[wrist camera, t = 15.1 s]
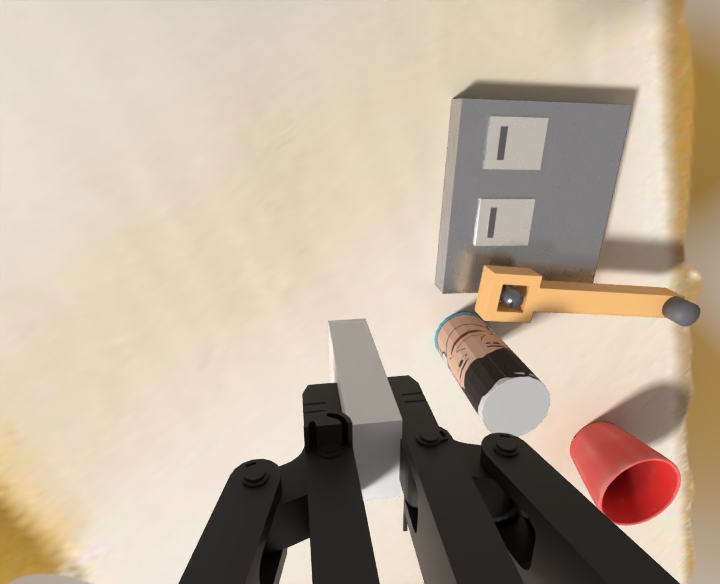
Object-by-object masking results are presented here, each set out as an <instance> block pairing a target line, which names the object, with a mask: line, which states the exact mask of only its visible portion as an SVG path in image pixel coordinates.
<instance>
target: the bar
mask: <svg viewBox="0 0 720 584" xmlns="http://www.w3.org/2000/svg"><path fill="white" fill-rule="evenodd" d="M503 284H505V285H515V289H516V290H517V291H518V292H520V293H521V294H522V295H523V297H524V301H523V304H522V305H521V306H520V307H518V308H516V309H512V308H510V307H509V306H507V305H506V304H505V303H504V302H499V299H500V294H501V290H502V286H503ZM684 298H685V297H684V296H682V295H680V294H678V293H676V292H674V291H671V290H669V289H667V288H661V287H644V286H628V285H612V284H595V283H579V282H562V281H546V280H542V276H541V275H539V274H538V273H536V272H535V271H533V270H532V269H530V268H522V267H507V266H492V265H484V268H483V272H482V277H481V282H480V286H479V291H478V296H477V301H476V305H475V311H476V312H477V313H478V314H479V316H480V317H481V318H482V319H483V320H484V321H501V322H524V323H531V319H532V315H533V312H554V313H575V314H596V315H617V316H638V317H659V318H668V319H670V320H672V321H674V322H675V323H677V324H679V325H681V326H689V325H692V324H693V323H694V322H696V320H697V319H698V317H699V315H700V308H699V306H698V305H696V304H694V303H692V302H690V301H687V300H685V299H684Z"/></svg>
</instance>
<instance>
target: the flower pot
mask: <svg viewBox="0 0 720 584" xmlns="http://www.w3.org/2000/svg"><path fill="white" fill-rule="evenodd" d="M570 455H571V458H572V460H573V462H574V464H575V466H576V468H577V470H578V472H579V474H580V476H581V478H582V480H583V482H584V484H585V486H586V488H587V490H588V491H589V493H590V495H591V497H592V499H593V501H594V503H595V505H596V507H597V508H598V509H599V510H600V511H601V512H602V513H603V514H604V515H606V516H607V517H608V518H609V519H610V520H611V521H612V522H613V523H614V524H616V525H624V526H627V525H635V524H640V523H643V522H646V521H648V520H650V519H652V518H654V517H656V516H657V515H659V514H660V513H661V512H662V511H664V510H665V509H666V508H667V507H668V506H669V505H670V504H671V502H672V501H673V500H674V498H675V496H676V495H677V493H678V490H679V487H680V482H681V477H680V472H679V470H678V468H677V466H676V465H675V464H674V463H673V462H672V461H670V460H669V459H667V458H666V457H664V456H663V455H662V454H660V453H658V452H657V451H655V450H654V449H652V448H651V447H649V446H648V445H646V444H644V443H643V442H641V441H640V440H638V439H637V438H635V437H633V436H632V435H630V434H628V433H627V432H625V431H623V430H621V429H620V428H618V427H616V426H615V425H613V424H611V423H608V422H596V423H592V424H590V425H588V426H586V427H584V428H583V429H581V430H580V431H579V432H578V433H577V435H576V437H575V438H574V439H573V440H572V442H571V445H570Z"/></svg>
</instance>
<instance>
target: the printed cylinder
mask: <svg viewBox="0 0 720 584" xmlns="http://www.w3.org/2000/svg"><path fill="white" fill-rule="evenodd" d="M435 345H436V348H437V350H438V352H439V353H440V355H441V357H442V358H443V360H444V361H445V363H446V364H447V366H448V368H449V369H450V371H451V372H452V374H453V376H454V377H455V379H456V380H457V382H458V383H459V385H460V387H461V388H462V390H463V391H464V393H465V395H466V396H467V398H468V399H469V401H470V402H471V404H472V406H473V407H474V409H475V410H476V412H477V414H478V415H479V417H480V418H481V420H482V421H483V423H484V425H485V426H486V428H487V429H488V430H489V431H490V432H492V433H499V432H500V433H508V434H511V435H514V436H521V435H524V434H526V433H528V432H530V431H531V430H533V429H535V428H536V427H537V426H538V425H539V424H540V423H541V422H542V421H543V419H544V418H545V416H546V415H547V413H548V409H549V406H550V394H549V392H548V390H547V388H546V386H545V385H544V384H543V383H542V382H541V381H540V380H539V379H538V378H537V377H536V376H535V375H534V373H533V372H532V371H531V370H530V369H529V368H528V367H527V366H526V365H525V364H524V363H523V362H522V361H521V360H520V359H519V358H518V357H517V355H516V354H515V353H514V352H513V351H512V350H511V349H510V348H509V347H508V346H507V345H506V344H505V343H504V342H503V341H502V340H501V338H500V337H499V336H498V335H497V334H496V333H495V332H494V331H493V330H492V329H491V328H490V327H489V326H488V325H487V324H486V323H485V322H484V320H483V319H481V318H480V317H479V316H478V315H476V314H473V313H471V312H460V313H456V314H453V315H451V316H449V317H448V318H446V319H445V320H444V321H443V322H442V323H441V324H440V326H439V328H438V329H437V331H436V335H435Z"/></svg>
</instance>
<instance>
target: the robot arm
mask: <svg viewBox="0 0 720 584" xmlns="http://www.w3.org/2000/svg"><path fill="white" fill-rule="evenodd" d="M328 332H329V359H330V382H331V383H326V384H314V385H308V386H307V388H306V389H305V391H304V392H303V394H302V396H303V416H304V441H305V446H304V449H303V451H302V453H301V454H300V455H299V456H298V457H297V458H296V459H294V460H293V461H291V462H289V463H287V464H284V465H282V466H279V467H278V465H277V464H275V463H274V462H272V461H270V460H265V459H255V460H250V461H247V462H245V463H243V464H241V465H240V466H238V467H237V468H235V470H234V471H233V472H232V474H231V475H230V477H229V479H228V481H227V483H226V485H225V487H224V489H223V491H222V494H221V496H220V498H219V500H218V502H217V504H216V506H215V508H214V510H213V512H212V514H211V517H210V519H209V521H208V523H207V525H206V527H205V529H204V531H203V533H202V535H201V538H200V540H199V542H198V544H197V546H196V548H195V550H194V552H193V554H192V556H191V559H190V561H189V563H188V565H187V567H186V569H185V571H184V573H183V575H182V577H181V580H180V582H179V584H279V581H280V577H281V573H282V570H283V566H284V562H285V559H286V555H287V548H288V547H290V546H292V545H294V544H297V543H299V542H301V541H303V540H306V539H308V538H310V546H311V564H312V582H313V584H380V583H379V578H378V573H377V567H376V562H375V557H374V552H373V547H372V542H371V537H370V532H369V527H368V522H367V517H366V511H365V506H364V501H368V500H376V499H384V498H393V497H400V484H401V487H402V490H403V493H404V514H403V531H407V524H408V527H409V530H410V534H411V537H412V541H413V544H414V548H415V551H416V555H417V558H418V562H419V565H420V569H421V572H422V576H423V579H424V583H425V584H680V583H679V582H678V581H676V580H675V579H674V578H673V577H672V576H671V575H670V574H669V573H668V572H667V571H666V570H664V569H663V568H662V567H661V566H660V565H659V564H658V563H657V562H656V561H655V560H654V559H652V558H651V557H650V556H649V555H648V554H647V553H646V552H645V551H644V550H643V549H642V548H640V547H639V546H638V545H637V544H636V543H635V542H634V541H633V540H632V539H631V538H630V537H628V536H627V535H626V534H625V533H624V532H623V531H622V530H621V529H620V528H619V527H618V526H616V525H615V524H614V523H613V522H612V521H611V520H610V519H609V518H608V517H607V516H606V515H604V514H603V513H602V512H601V511H600V510H599V509H598V508H597V507H596V506H595V505H594V504H592V503H591V502H590V501H589V500H588V499H587V498H586V497H585V496H584V495H583V494H582V493H580V492H579V491H578V490H577V489H576V488H575V487H574V486H573V485H572V484H571V483H570V482H568V481H567V480H566V479H565V478H564V477H563V476H562V475H561V474H560V473H559V472H557V471H556V470H555V469H554V468H553V467H552V466H551V465H550V464H549V463H548V462H547V461H545V460H544V459H543V458H542V457H541V456H540V455H539V454H538V453H537V452H536V451H535V450H533V449H532V448H531V447H530V446H529V445H528V444H527V443H526V442H525V441H523V440H522V439H520V438H519V437H517V436H514V435H511V434H508V433H500V432H499V433H492V434H489V435H488V436H486V437H485V438H484V439H483V441H482V443H481V445H474V444H467V443H462V442H458V441H455V440H453V438H452V436H451V435H450V434H449V432H448V431H447V430H445V429H443V428H442V427H439V426H438V424H437V422H436V419H435V417H434V415H433V413H432V411H431V409H430V407H429V405H428V403H427V401H426V398H425V396H424V394H423V392H422V390H421V388H420V386H419V383H418V382H416V381H415V380H414V379H413V378H411V377H410V376H409V375H407V376H396V377H387V376H386V374H385V371H384V368H383V365H382V363H381V360H380V357H379V354H378V352H377V349H376V346H375V343H374V341H373V338H372V335H371V333H370V330H369V327H368V324H367V322H366V319H352V320H337V321H328Z"/></svg>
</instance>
